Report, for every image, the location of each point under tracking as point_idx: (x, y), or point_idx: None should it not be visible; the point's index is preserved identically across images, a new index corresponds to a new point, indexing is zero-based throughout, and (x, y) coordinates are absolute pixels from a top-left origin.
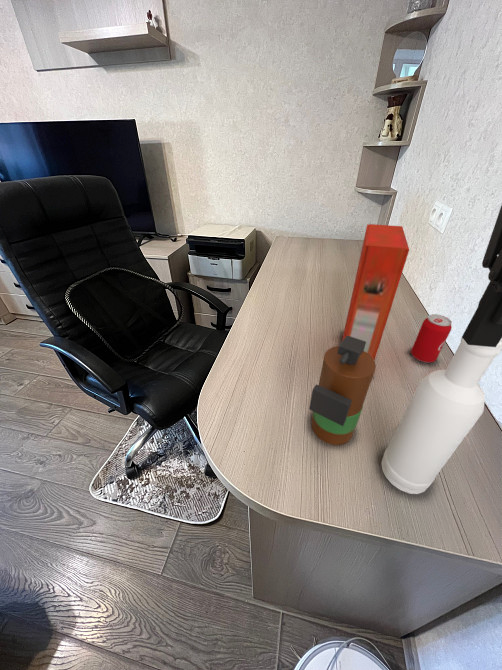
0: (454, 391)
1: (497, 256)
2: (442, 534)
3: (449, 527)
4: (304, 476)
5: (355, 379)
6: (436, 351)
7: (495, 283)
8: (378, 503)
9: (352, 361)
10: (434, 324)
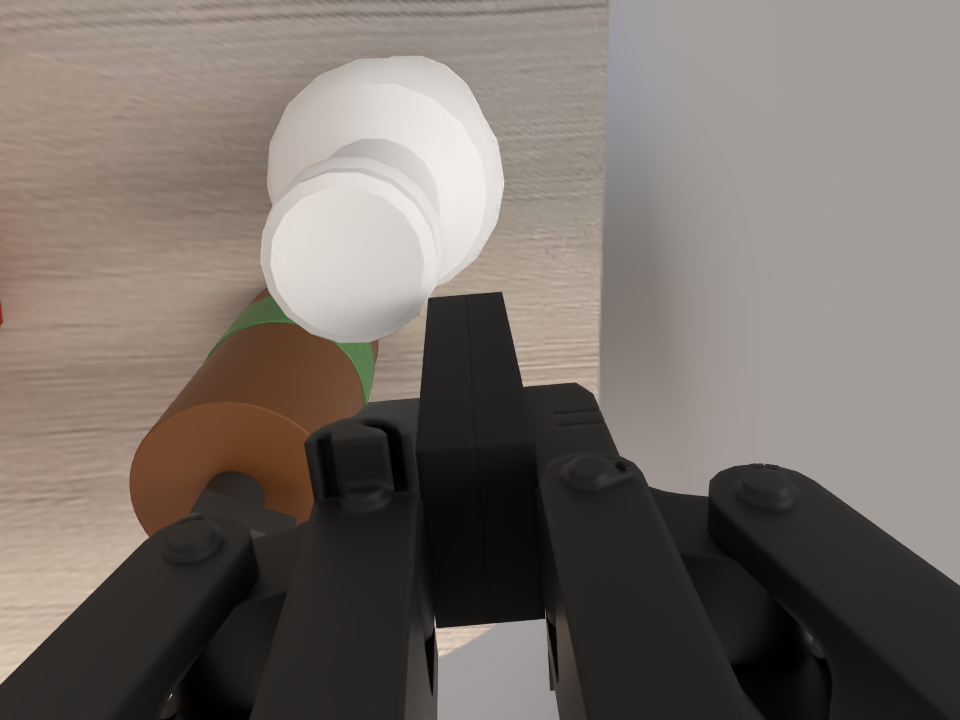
0: (449, 235)
1: (201, 700)
2: (572, 60)
3: (550, 34)
4: None
5: None
6: None
7: (553, 686)
8: (526, 220)
9: (259, 499)
10: None
